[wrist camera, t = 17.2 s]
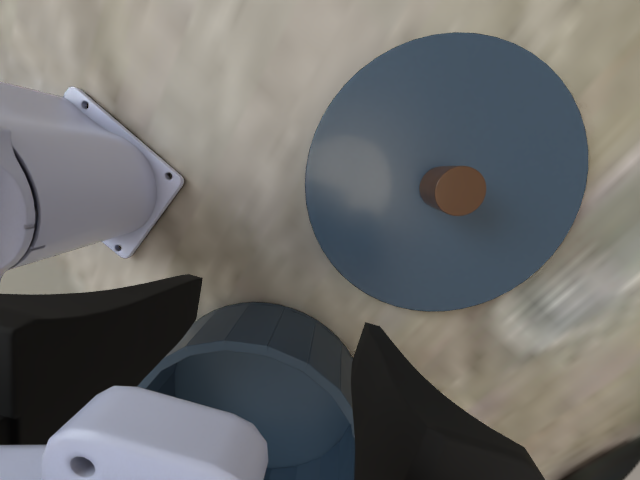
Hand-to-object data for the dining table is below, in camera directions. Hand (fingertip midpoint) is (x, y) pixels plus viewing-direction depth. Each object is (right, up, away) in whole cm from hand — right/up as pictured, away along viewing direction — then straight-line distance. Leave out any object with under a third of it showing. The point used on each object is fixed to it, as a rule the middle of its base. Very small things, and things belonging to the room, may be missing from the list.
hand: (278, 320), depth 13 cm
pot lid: (+9, +7, +7) cm, 13 cm away
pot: (-3, -9, +12) cm, 16 cm away
